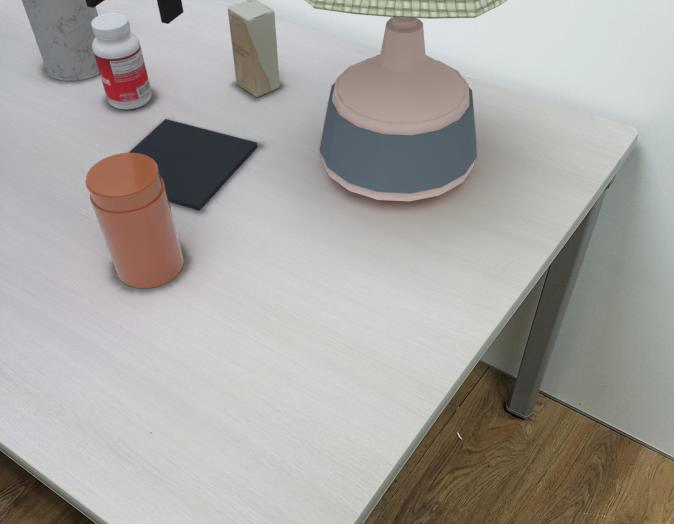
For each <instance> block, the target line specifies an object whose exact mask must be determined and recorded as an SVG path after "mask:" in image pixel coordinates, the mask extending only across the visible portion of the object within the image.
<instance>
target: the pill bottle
mask: <svg viewBox="0 0 674 524" xmlns="http://www.w3.org/2000/svg"><path fill="white" fill-rule="evenodd" d="M91 25H92V29H93V33H94V35H95V39H94V40H93V43H92V49H93V53H94V56H95V59H96V63H97V66H98V69H99V73H100V74H99V75H100V76H99V77H100V79H101V83H102V85H103V89H104V92H105V96H106V99H107V102H108V103H109V105H111V106H112V107H114V108H115V109H118V110H135V109H138V108H140V107H143V106H145V105H146V104H147V103H148V102H150V100H151V99H152V95H153V92H152V87H151V83H150V79H149V75H148V71H147V68H146V62H145V59H144V55H143V51H142V46H141V42H140V39H139V37H138V35H136V34H135V33H134V32H133V31H131V24H130V21H129V18H128V16H127V15H126V14H124V13H120V12H107V13H103V14H98V16H97V17H96V18H94V19H93V20H92V22H91Z"/></svg>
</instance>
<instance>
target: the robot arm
mask: <svg viewBox="0 0 674 524" xmlns="http://www.w3.org/2000/svg"><path fill="white" fill-rule="evenodd" d="M103 2H105V0H86V4H87V7H91V8H94V7H95V6H96V7H97V6H99V5H100V4H101V3H103ZM156 2H157V8H158V13H159V16H160V22H161V23H162V24H166V25H169V24H171V22H173V21H175V20H176V19H178V17H180V16H181V15H182V14H183V13H184V6H183V2H182V0H156Z"/></svg>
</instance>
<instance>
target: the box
mask: <svg viewBox="0 0 674 524" xmlns="http://www.w3.org/2000/svg"><path fill="white" fill-rule="evenodd" d="M226 10H227V15H228V23H229V31H230V40H231V48H232V55H233V57H232V58H233V65H234V66H233V67H234V74H235V81H236V82H235V83H236V85H238V86H239V87H240V88H242V89H243V90H245V91H246V92H248V93H249V94H251V95H252V96H253V97H255V98H259V97H262V96H264V95H266V94H268V93H270V92H272V91H275V90H277V89H279V88H280V87H281V85H280V84H281V83H280V70H279V56H278V43H277V40H278V39H277V27H276V16H275V15H276V14H275V10H274V9H273V8H271V7H269V6H268V5H265V4H264V3H262V2H260V1H259V0H243V1H241V2H238V3H236V4H233V5H230V6H228V7H227V9H226Z"/></svg>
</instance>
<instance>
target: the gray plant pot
mask: <svg viewBox="0 0 674 524" xmlns="http://www.w3.org/2000/svg"><path fill="white" fill-rule="evenodd" d="M21 3H22V6H23V8H24V11H25V14H26V17H27V20H28V22H29V25H30V27H31V30H32V33H33V35H34V39H35V42H36V45H37V47H38V50H39V53H40V55H41V59H42V62H43V64H44V67H45V72H46V73H47V75H48V76H49V77H50V78H52V79H55V80H57V81H63V82H76V81H84V80H87V79H90V78H94V77H96V76H98V75H100V73H99V69H98V66H97V63H96V59H95V56H94V53H93V49H92V43H93V40H94V39H95V35H94V33H93V29H92V25H91V22H92V20H93V19H94V18H96V17H97V16H99V12H98V9H97V6H95V7H94V8H91V7H87V4H86V0H21Z"/></svg>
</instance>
